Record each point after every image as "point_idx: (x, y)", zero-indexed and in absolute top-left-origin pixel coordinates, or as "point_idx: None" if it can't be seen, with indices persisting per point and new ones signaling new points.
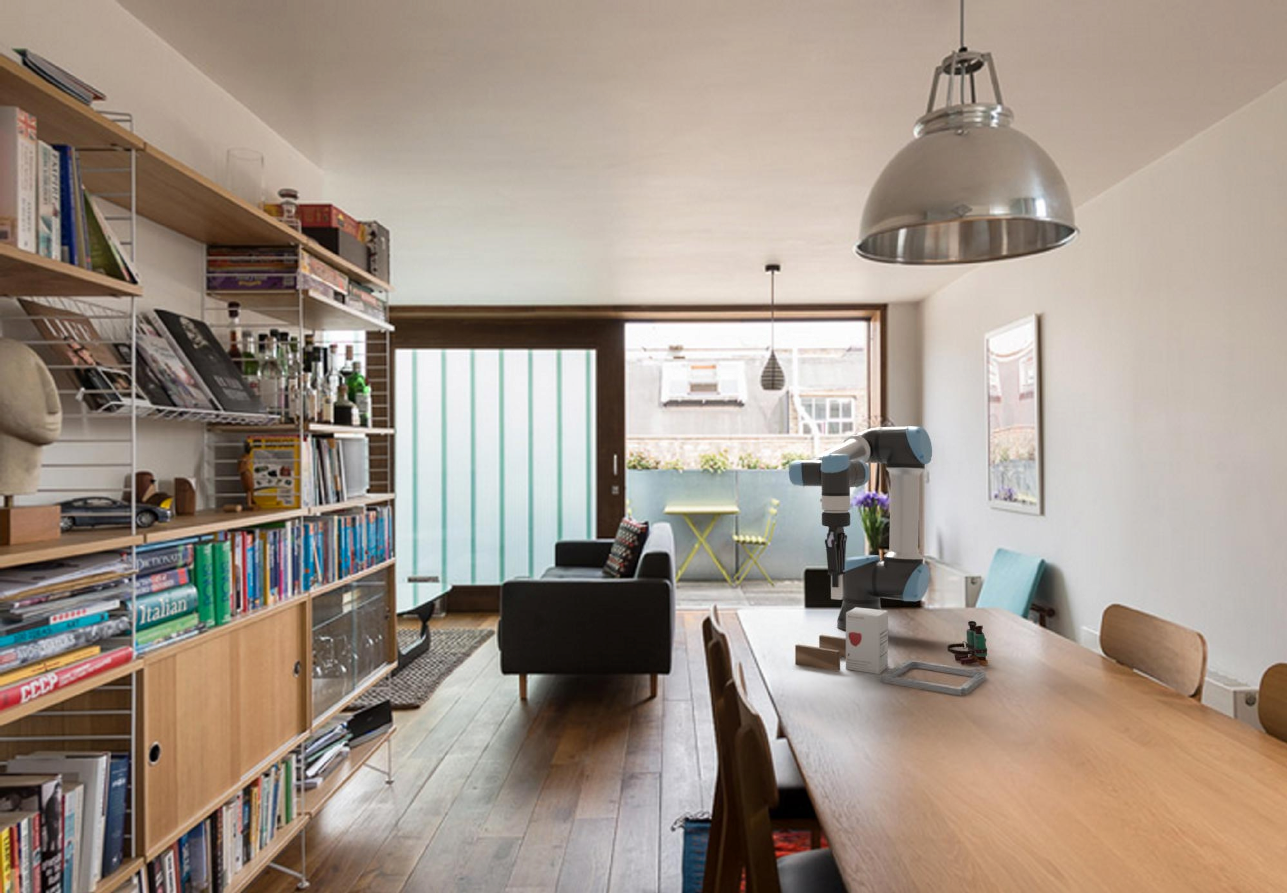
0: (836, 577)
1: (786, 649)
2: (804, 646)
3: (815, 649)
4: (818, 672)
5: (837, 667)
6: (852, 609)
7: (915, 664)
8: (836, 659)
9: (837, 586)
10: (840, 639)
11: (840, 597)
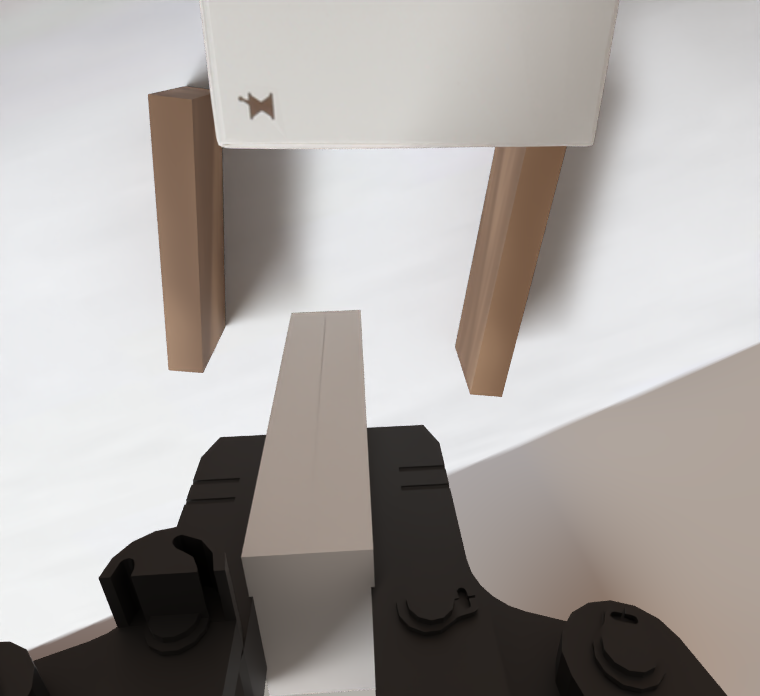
0: (466, 564)
1: None
2: (508, 351)
3: (528, 286)
4: (587, 210)
5: None
6: (375, 137)
7: None
8: None
9: (427, 436)
10: (199, 243)
11: (359, 328)
